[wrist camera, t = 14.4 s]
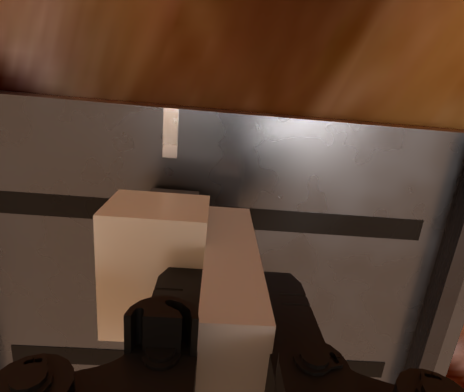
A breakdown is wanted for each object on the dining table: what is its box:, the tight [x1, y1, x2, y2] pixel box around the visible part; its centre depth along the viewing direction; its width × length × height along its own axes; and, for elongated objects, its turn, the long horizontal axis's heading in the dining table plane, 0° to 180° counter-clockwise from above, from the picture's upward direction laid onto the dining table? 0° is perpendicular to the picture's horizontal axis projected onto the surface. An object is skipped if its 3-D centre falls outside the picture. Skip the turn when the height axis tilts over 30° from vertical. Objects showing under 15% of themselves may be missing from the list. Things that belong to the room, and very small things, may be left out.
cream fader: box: [93, 188, 210, 342], centre depth 12 cm, size 4×3×5 cm
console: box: [0, 91, 464, 385], centre depth 17 cm, size 17×26×3 cm, turn 85°
